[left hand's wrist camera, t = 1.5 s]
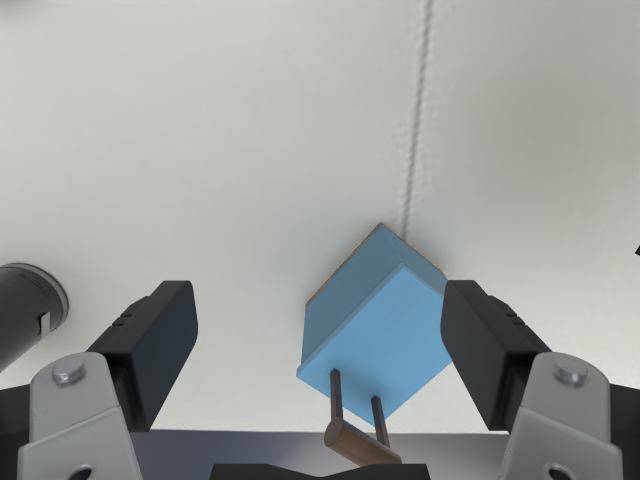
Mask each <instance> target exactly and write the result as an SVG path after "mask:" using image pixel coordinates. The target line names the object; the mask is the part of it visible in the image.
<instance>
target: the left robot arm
mask: <svg viewBox="0 0 640 480" xmlns="http://www.w3.org/2000/svg"><path fill="white" fill-rule="evenodd" d="M67 311H68V304H67V299H66V296H65V294H64V292H63V290H62V288H61V287H60V286H59V284H58V283H57V282H56V281H55V280H54V279H53V278H52V277H51V276H49V275H48V274H47V273H45V272H43V271H42V270H40V269H38V268H35V267H33V266H29V265H25V264H7V265H4V266H1V267H0V373H1V372H2V371H3V370H5V369H6V368H7V367H8V366H9V365H11V364H12V363H13V362H14V361H15V360H17V359H18V358H19V357H20V356H22V355H23V354H24V353H25V352H26V351H28V350H29V349H30V348H31V347H33V346H34V345H35V344H36V343H38V342H39V341H40V340H41V339H42V338H44V337H45V336H46V335H47V334H48V333H50V332H51V331H53V330H55V329H56V328H57V327H58V326H60V325H61V324H62V322H63V321H64V320H65V318H66V315H67ZM440 333H441V338H442V342H443V344H444V346H445V348H446V350H447V352H448V354H449V356H450V357H451V359H452V361H453V363H454V365H455V367H456V369H457V371H458V373H459V375H460V377H461V378H462V380H463V382H464V384H465V386H466V388H467V390H468V392H469V394H470V396H471V397H472V399H473V401H474V403H475V405H476V407H477V409H478V411H479V413H480V415H481V417H482V418H483V420H484V422H485V424H486V426H487V428H488V430H489V431H508V432H509V434H510V439H509V442H508V446H507V449H506V452H505V456H504V459H503V462H502V466H501V469H500V472H499V476H498V479H497V480H640V390H639V389H635V388H630V387H625V386H620V385H615V384H610V383H609V381H608V379H607V378H606V376H605V375H604V374H603V373H602V372H601V371H600V370H599V369H597V368H596V367H594V366H593V365H591V364H590V363H588V362H586V361H584V360H582V359H580V358H577V357H574V356H572V355H568V354H564V353H558V352H552V351H551V349H550V348H549V347H548V346H547V345H546V344H545V343H544V342H543V341H542V340H541V339H540V338H539V337H538V336H537V335H536V334H535V333H534V332H533V331H532V330H531V329H530V328H529V327H528V325H525V322H524V321H523V320H522V319H521V318H520V317H517V314H516V313H515V312H514V311H513V310H512V309H511V308H510V307H509V306H508V305H507V304H506V303H504V302H502V301H501V300H499V299H497V298H495V297H494V296H488V295H487V294H486V293H485V292H484V290H483V289H482V288H481V287H480V286H479V285H478V284H477V283H476V282H475V281H474V280H448V281H447V283H446V286H445V292H444V300H443V307H442V314H441V322H440ZM197 335H198V321H197V314H196V307H195V300H194V292H193V287H192V284H191V282H190V281H163V282H162V283H161V284H160V285H159V286H158V287H157V289H156V290H155V291H154V292H153V293H152V294H151V295H150V296H145V297H143V298H142V299H140V300H138V301H136V302H135V303H133V304H131V305H130V306H129V307H128V308H127V309H126V310H125V311H124V312H123V313H122V314H121V315H120V317H118V318H117V319H116V320H115V321H114V322H113V324H112V326H110V327H109V328H108V329H107V330H106V331H105V332H104V333H103V334H102V335H101V336H100V337H99V338H98V339H97V340H96V341H95V342H94V343H93V344H92V345H91V346H90V347H89V348H88V349H87V350H86V351H85V352H82V353H76V354H72V355H68V356H66V357H63V358H60V359H58V360H56V361H54V362H52V363H50V364H49V365H47V366H46V367H44V368H43V369H41V370H40V371H39V372H38V373H37V374H36V375H35V376H34V378H33V379H32V381H31V383H30V384H27V385H23V386H18V387H13V388H8V389H3V390H0V480H143V479H142V476H141V473H140V469H139V466H138V462H137V459H136V456H135V452H134V449H133V446H132V442H131V439H130V435H129V432H149V430H150V428H151V426H152V424H153V422H154V420H155V418H156V417H157V415H158V413H159V411H160V409H161V407H162V405H163V403H164V402H165V400H166V398H167V396H168V394H169V392H170V390H171V388H172V386H173V385H174V383H175V381H176V379H177V377H178V375H179V373H180V371H181V370H182V368H183V366H184V364H185V362H186V360H187V358H188V356H189V354H190V353H191V351H192V349H193V347H194V345H195V343H196V340H197ZM209 480H431V479H430V476H429V472H428V469H427V466H426V464H371V465H367V466H364V467H360V468H356V469H352V470H348V471H345V472H341V473H337V474H333V475H329V476H325V477H315V476H311V475H307V474H303V473H299V472H296V471H291V470H288V469H284V468H280V467H276V466H272V465H269V464H214V466H213V469H212V472H211V476H210V479H209Z"/></svg>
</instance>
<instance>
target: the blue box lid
mask: <svg viewBox="0 0 640 480" xmlns="http://www.w3.org/2000/svg"><path fill="white" fill-rule="evenodd" d="M443 300H444V296H443V295H442V294H441V293H439V292H438V291H437V290H436V289H434V288H433V287H432V286H430V285H429V284H428V283H427V282H425V281H424V280H423V279H422V278H420V277H419V276H418V275H417V274H415V273H414V272H413V271H412V270H410V269H409V268H408V267H406V266H405V265H404V264H403V263H401V262H400V263H399V264H398V265H397V266H396V267H395V268H394V270H393V271H392V272H391V273H390V274H389V275H388V276H387V277H386V278H385V279H384V280H383V281H382V282H381V283H380V284H379V285H378V286H377V287H376V288H375V289H374V290H373V291H372V292H371V293H370V294H369V295H368V296H367V297H366V298H365V299H364V300H363V301H362V302H361V303H360V304H359V305H358V307H357V308H356V309H355V310H354V311H353V312H352V313H351V314H350V315H349V316H348V317H347V318H346V319H345V320H344V321H343V322H342V323H341V324H340V325H339V326H338V327H337V328H336V329H335V330H334V331H333V332H332V333H331V334H330V335H329V336H328V337H327V338H326V339H325V340H324V341H323V342H322V344H321V345H320V346H319V347H318V348H317V349H316V350H315V351H314V352H313V353H312V354H311V355H310V356H309V357H308V358H307V359H306V360H305V361H304V362H303V363H302V364H301V365H300V366H299V367H298V368H297V374H296V377H298V378H299V379H301V380H302V381H304V382H306V383H307V384H309V385H310V386H312V387H313V388H315V389H316V390H318V391H320V392H321V393H323V394H324V395H326V396H327V397H329V398H331V422H330V423H329V425H328V426H327V429H326V431H325V435H324V443H325V445H326V446H327V447H329V448H330V449H332V450H334V451H335V452H337V453H339V454H340V455H342V456H344V457H345V458H347V459H349V460H350V461H352V462H354V463H355V464H357V465H359V466H360V467H364V466H367V465H371V464H402V461H401V458H400V456H399V455H398V454H397V453H396V452H394V451H392V450H391V449H390V444H389V439H388V434H387V429H386V424H385V419H386V418H387V417H388V416H390V415H391V414H392V413H393V412H394V411H395V410H396V409H398V408H399V407H400V406H401V405H402V404H403V403H405V402H406V401H407V400H408V399H409V398H410V397H412V396H413V395H414V394H415V393H416V392H417V391H418V390H420V389H421V388H422V387H423V386H424V385H425V384H427V383H428V382H429V381H430V380H431V379H432V378H433V377H435V376H436V375H437V374H438V373H439V372H440V371H442V370H443V369H444V368H445V367H446V366H447V365H448V364H450V363H451V362H452V359H451V357H450V356H449V354H448V352H447V350H446V348H445V346H444V344H443V342H442V338H441V333H440V322H441V314H442V307H443ZM342 406H343V407H345V408H346V409H348V410H349V411H351V412H352V413H354V414H355V415H357V416H359V417H360V418H362V419H363V420H365V421H366V422H368V423H370V424H371V425H373V426H374V427H375V430H376V436H377V440H375V439H373V438H372V437H370V436H369V435H367V434H366V433H364V432H362V431H361V430H359V429H358V428H356V427H354V426H353V425H351V424H350V423H348V422H347V421H345V420H343V408H342Z"/></svg>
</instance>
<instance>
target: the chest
mask: <svg viewBox="0 0 640 480" xmlns="http://www.w3.org/2000/svg"><path fill="white" fill-rule="evenodd" d="M400 262H401V263H403V264H404V265H405V266H406V267H408V268H409V269H410V270H412V271H413V272H414V273H415V274H417V275H418V276H419V277H420V278H422V279H423V280H424V281H425V282H427V283H428V284H429V285H430V286H432V287H433V288H434V289H436V290H437V291H438V292H439V293H441V294H442V295H443V296H444V292H445V286H446V283H447V281H448V280H447V278H446V277H445V276H444V274H443V272H441V271H440V270H439V269H438V268H437V267H435V266H434V265H433V264H432V263H430V262H429V261H428V260H427V259H425V258H424V257H423V256H422V255H421V254H419V253H418V252H417V251H416V250H414V249H413V248H412V247H411V246H409V245H408V244H407V243H406V242H404V241H403V240H402V239H401V238H400V237H398V236H397V235H396V234H395V233H393V232H392V231H391V230H390V229H388V228H387V227H386V226H385V225H384V224H382V223H381V222H380V224H379V225H378V226H377V227H376V228H375V229H374V230H373V231H372V232H371V233H370V234H369V236H368V237H367V238H366V239H365V240H364V241H363V242H362V243H361V244H360V245H359V247H358V248H357V249H356V250H355V251H354V252H353V253H352V254H351V255H350V256H349V258H348V259H347V260H346V261H345V262H344V263H343V264H342V265H341V266H340V267H339V268H338V270H337V271H336V272H335V273H334V274H333V275H332V276H331V277H330V278H329V279H328V281H327V282H326V283H325V284H324V285H323V286H322V287H321V288H320V289H319V290H318V292H317V293H316V294H315V295H314V296H313V297H312V298H311V299H310V300H309V301H308V303H307V304H306V311H305V323H304V335H303V347H302V359H301V364H302V363H303V362H304V361H305V360H306V359H307V358H308V357H309V356H310V355H311V354H312V353H313V352H314V351H315V350H316V349H317V348H318V347H319V346H320V345H321V344H322V342H323V341H324V340H325V339H326V338H327V337H328V336H329V335H330V334H331V333H332V332H333V331H334V330H335V329H336V328H337V327H338V326H339V325H340V324H341V323H342V322H343V321H344V320H345V319H346V318H347V317H348V316H349V315H350V314H351V313H352V312H353V311H354V310H355V309H356V308H357V307H358V305H359V304H360V303H361V302H362V301H363V300H364V299H365V298H366V297H367V296H368V295H369V294H370V293H371V292H372V291H373V290H374V289H375V288H376V287H377V286H378V285H379V284H380V283H381V282H382V281H383V280H384V279H385V278H386V277H387V276H388V275H389V274H390V273H391V272H392V271H393V270H394V268H395V267H396V266H397V265H398V264H399V263H400Z"/></svg>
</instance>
